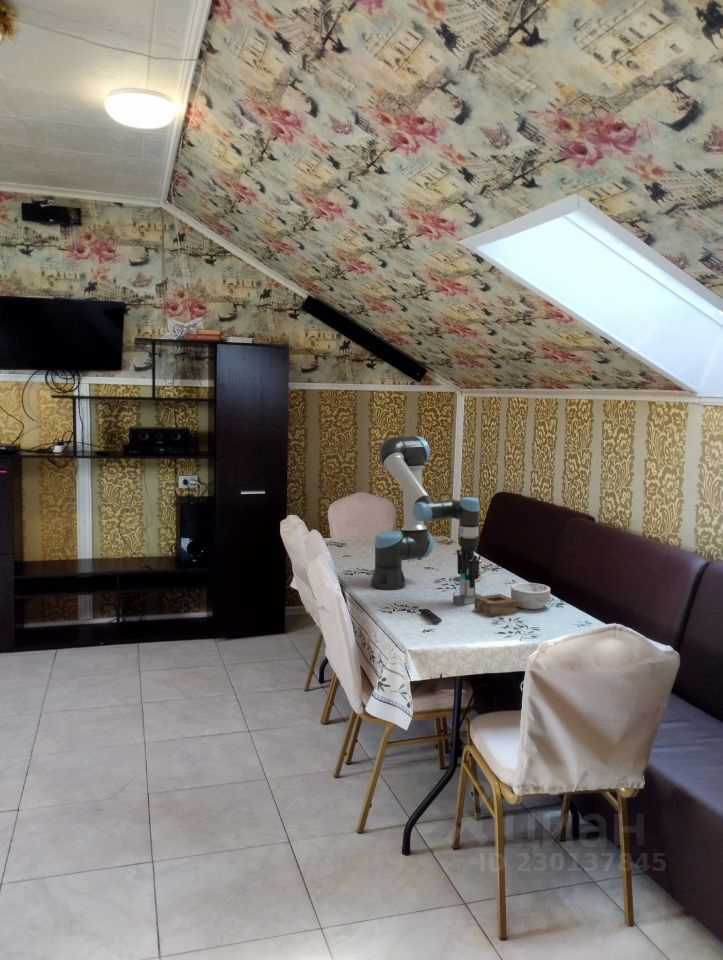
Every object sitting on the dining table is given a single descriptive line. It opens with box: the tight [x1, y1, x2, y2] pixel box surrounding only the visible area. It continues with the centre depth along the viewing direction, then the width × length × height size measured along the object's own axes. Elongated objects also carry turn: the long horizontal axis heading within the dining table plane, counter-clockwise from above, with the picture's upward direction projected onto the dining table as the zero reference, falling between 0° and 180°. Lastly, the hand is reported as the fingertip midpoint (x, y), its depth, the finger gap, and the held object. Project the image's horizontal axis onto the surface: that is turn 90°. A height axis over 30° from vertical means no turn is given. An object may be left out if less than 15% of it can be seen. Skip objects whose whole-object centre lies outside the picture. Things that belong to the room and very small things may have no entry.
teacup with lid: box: [467, 558, 488, 582], centre depth 341 cm, size 12×9×12 cm
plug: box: [459, 572, 476, 606], centre depth 303 cm, size 4×5×12 cm
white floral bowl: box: [510, 582, 551, 610], centre depth 298 cm, size 15×15×8 cm
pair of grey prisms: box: [452, 592, 482, 606], centre depth 303 cm, size 4×11×3 cm, turn 116°
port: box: [474, 593, 518, 618], centre depth 291 cm, size 11×12×5 cm
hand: (467, 593), depth 303 cm, fingers closed on plug, 3 cm apart
